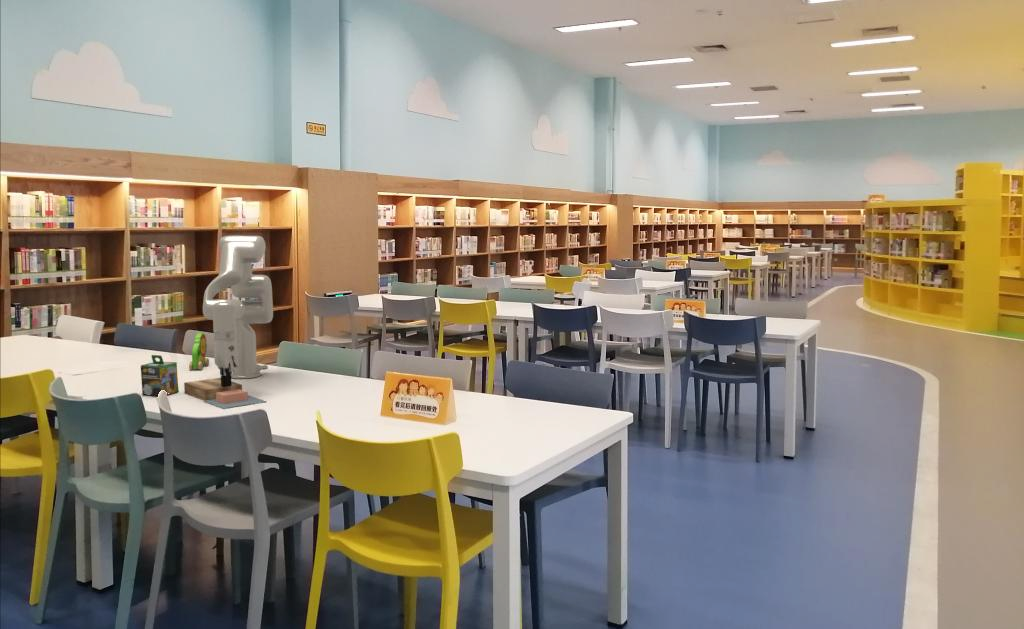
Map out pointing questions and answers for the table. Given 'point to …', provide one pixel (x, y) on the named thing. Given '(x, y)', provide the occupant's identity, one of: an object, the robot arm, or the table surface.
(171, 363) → the green printed box
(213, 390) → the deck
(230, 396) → the salmon pink block
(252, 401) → the mat
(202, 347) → the toy lion
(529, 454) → the table surface
